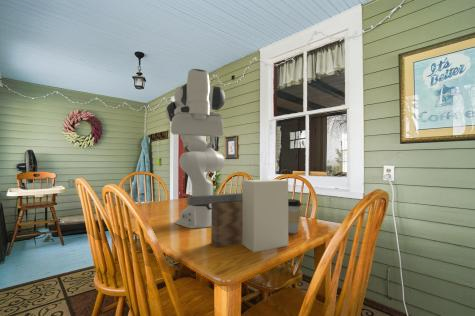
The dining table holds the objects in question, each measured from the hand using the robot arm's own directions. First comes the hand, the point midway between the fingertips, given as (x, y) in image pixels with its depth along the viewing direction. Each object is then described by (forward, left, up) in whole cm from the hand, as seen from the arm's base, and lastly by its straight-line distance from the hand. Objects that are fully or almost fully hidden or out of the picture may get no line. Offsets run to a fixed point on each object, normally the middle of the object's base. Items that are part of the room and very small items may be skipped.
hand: (197, 147), depth 91 cm
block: (+6, +13, -39) cm, 42 cm away
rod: (+4, +9, -22) cm, 24 cm away
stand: (+20, +18, -39) cm, 47 cm away
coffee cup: (+23, +42, -39) cm, 62 cm away
